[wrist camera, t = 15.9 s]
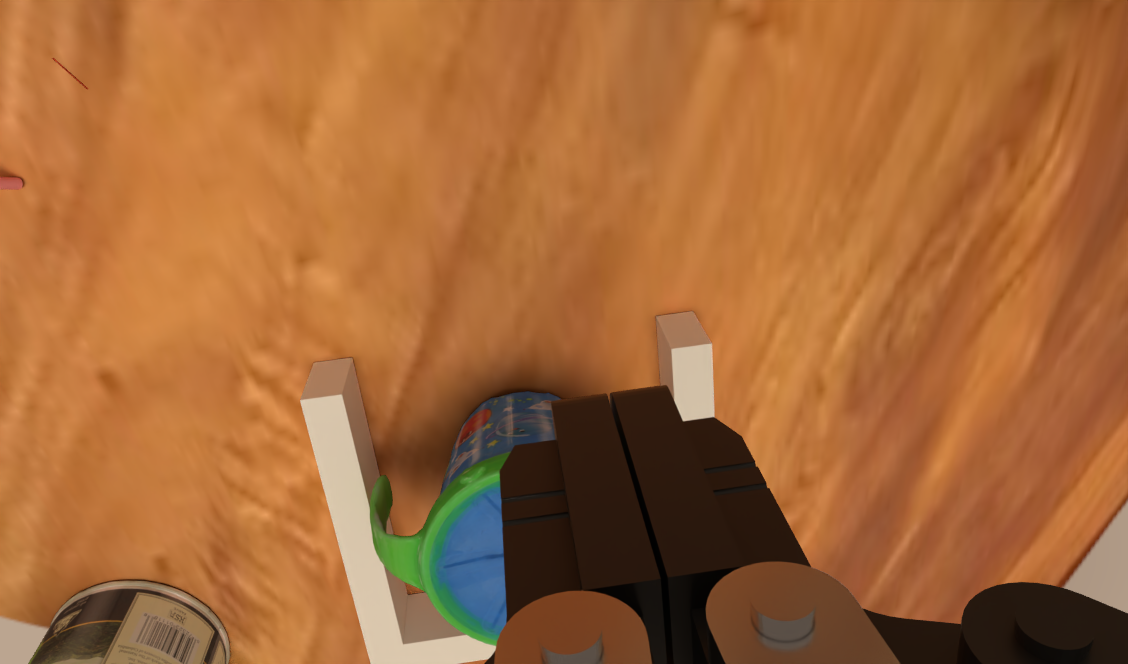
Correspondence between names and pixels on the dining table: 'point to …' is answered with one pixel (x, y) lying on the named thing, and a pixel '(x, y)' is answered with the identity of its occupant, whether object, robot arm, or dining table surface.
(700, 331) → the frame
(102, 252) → the dining table surface
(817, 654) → the robot arm
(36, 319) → the dining table surface
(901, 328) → the dining table surface
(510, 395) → the snack cup
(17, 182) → the figurine
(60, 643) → the coffee can
